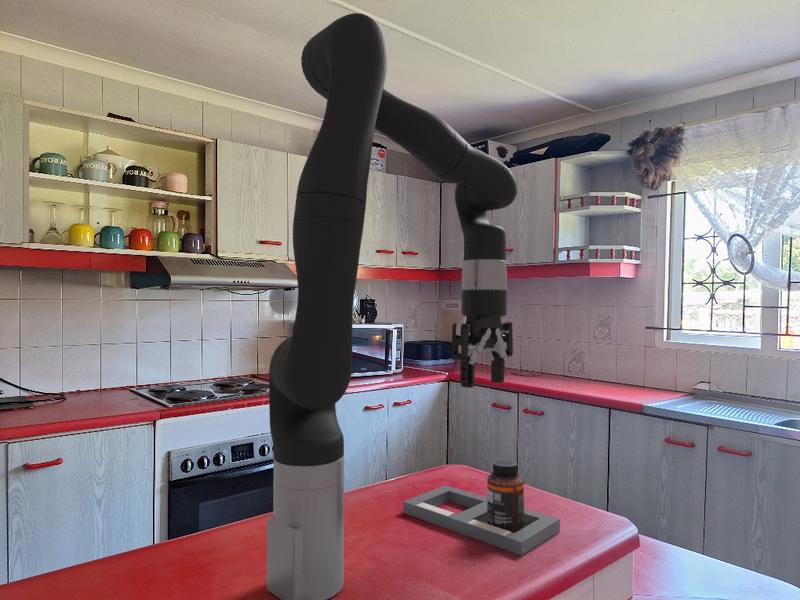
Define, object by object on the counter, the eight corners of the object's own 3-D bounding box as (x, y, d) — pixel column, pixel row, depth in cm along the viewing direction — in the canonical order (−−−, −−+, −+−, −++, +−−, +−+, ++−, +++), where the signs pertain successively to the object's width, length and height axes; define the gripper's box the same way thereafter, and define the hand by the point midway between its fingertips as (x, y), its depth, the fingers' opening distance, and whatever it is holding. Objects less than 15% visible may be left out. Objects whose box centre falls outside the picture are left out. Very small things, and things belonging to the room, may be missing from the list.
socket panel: (521, 555, 82) (521, 541, 82) (403, 512, 98) (403, 501, 98) (559, 531, 91) (559, 518, 91) (445, 495, 107) (445, 484, 107)
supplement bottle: (521, 524, 93) (522, 457, 93) (526, 540, 87) (526, 468, 87) (486, 523, 94) (486, 456, 94) (488, 538, 88) (488, 467, 88)
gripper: (477, 286, 85) (475, 392, 85) (526, 288, 95) (525, 383, 95) (439, 287, 90) (438, 386, 90) (490, 289, 100) (489, 378, 100)
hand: (483, 384), depth 92 cm, fingers open, 8 cm apart
